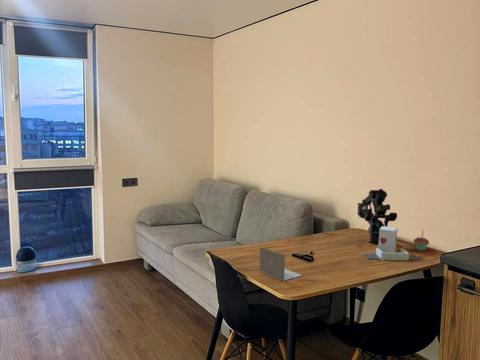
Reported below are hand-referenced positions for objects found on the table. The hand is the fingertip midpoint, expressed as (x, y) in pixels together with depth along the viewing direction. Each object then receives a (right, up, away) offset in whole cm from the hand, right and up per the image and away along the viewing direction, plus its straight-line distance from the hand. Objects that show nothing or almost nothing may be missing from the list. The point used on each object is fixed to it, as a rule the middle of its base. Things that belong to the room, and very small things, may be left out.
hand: (383, 228), depth 262 cm
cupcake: (+23, -13, +2) cm, 27 cm away
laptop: (-66, -18, -46) cm, 83 cm away
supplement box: (0, -14, -8) cm, 16 cm away
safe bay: (-1, -15, -16) cm, 22 cm away
